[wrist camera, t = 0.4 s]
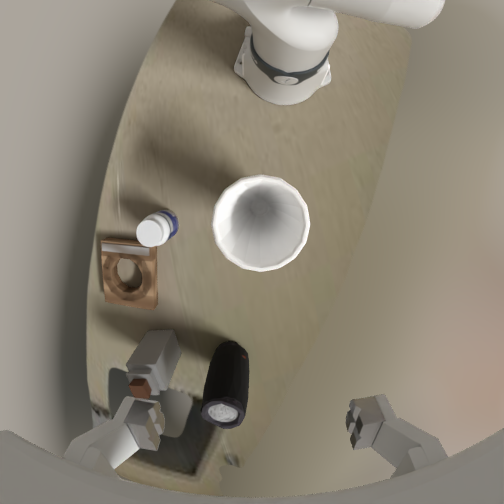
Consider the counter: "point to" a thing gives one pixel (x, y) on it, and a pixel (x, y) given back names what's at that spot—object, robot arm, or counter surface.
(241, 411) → the portable speaker
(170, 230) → the pill bottle
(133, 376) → the perfume bottle
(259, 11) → the robot arm
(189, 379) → the counter surface
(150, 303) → the jig
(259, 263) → the cup
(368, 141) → the counter surface
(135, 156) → the counter surface
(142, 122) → the counter surface
